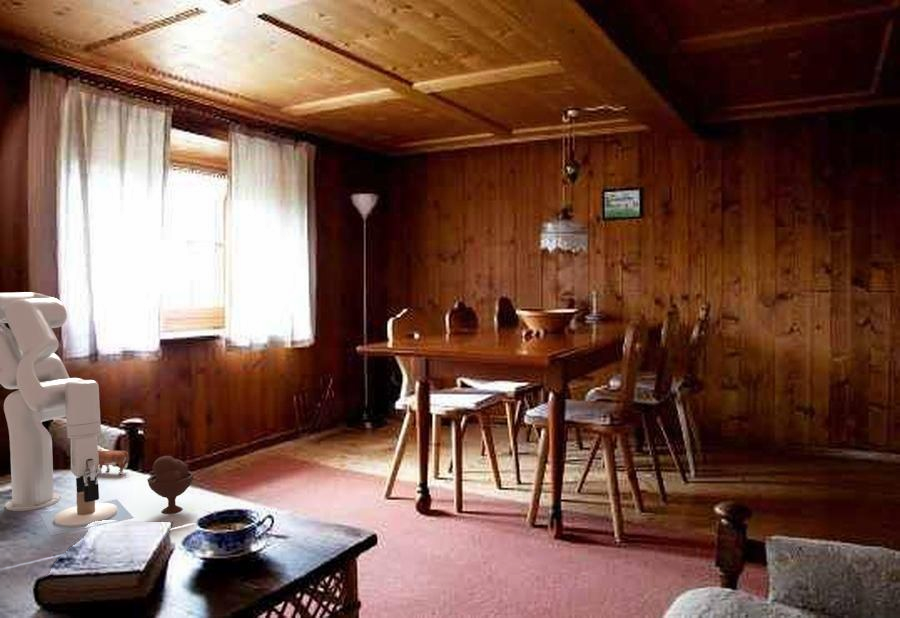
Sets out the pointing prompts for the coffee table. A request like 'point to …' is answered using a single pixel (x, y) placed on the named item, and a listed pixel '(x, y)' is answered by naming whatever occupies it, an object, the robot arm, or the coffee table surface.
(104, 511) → the lid
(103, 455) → the bull figurine
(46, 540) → the coffee table surface
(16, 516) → the coffee table surface
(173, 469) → the ice cream bowl
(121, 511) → the mat
